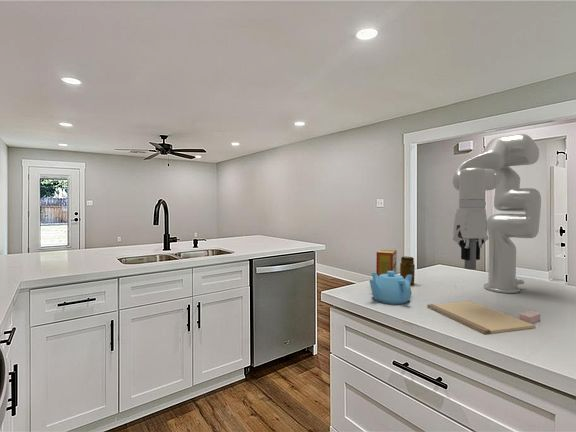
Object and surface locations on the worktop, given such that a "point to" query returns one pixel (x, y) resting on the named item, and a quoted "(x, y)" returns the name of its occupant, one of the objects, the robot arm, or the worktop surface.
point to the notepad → (480, 317)
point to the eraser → (530, 317)
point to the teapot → (391, 288)
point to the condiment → (408, 268)
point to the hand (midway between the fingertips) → (470, 259)
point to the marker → (471, 255)
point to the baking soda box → (386, 261)
